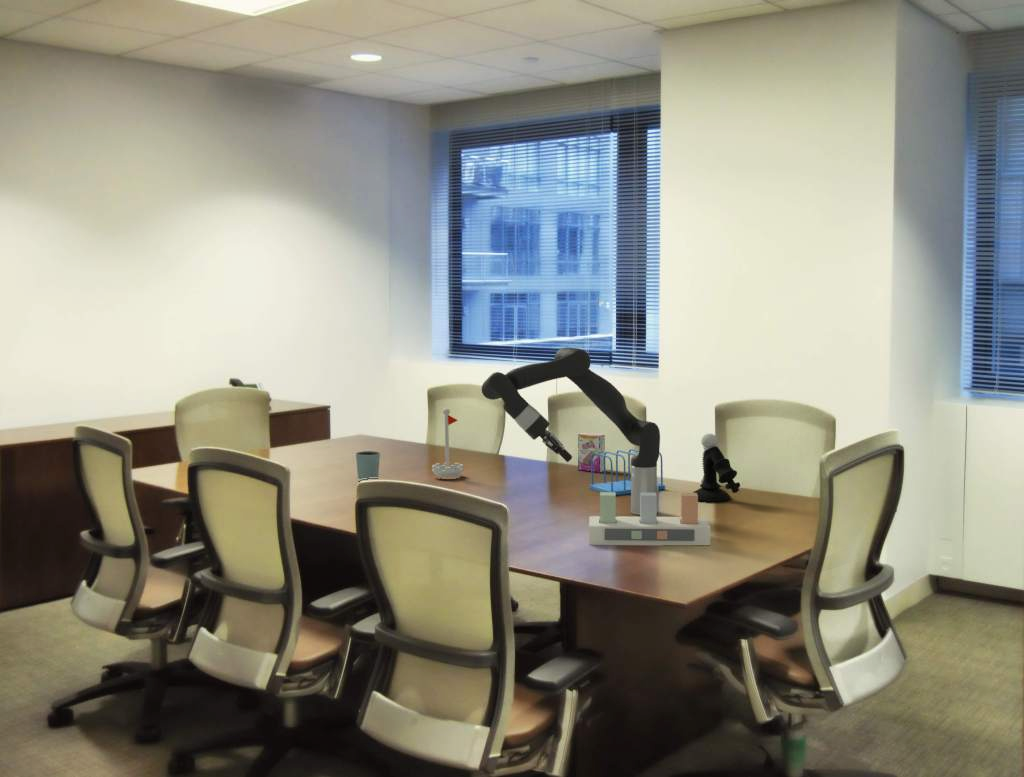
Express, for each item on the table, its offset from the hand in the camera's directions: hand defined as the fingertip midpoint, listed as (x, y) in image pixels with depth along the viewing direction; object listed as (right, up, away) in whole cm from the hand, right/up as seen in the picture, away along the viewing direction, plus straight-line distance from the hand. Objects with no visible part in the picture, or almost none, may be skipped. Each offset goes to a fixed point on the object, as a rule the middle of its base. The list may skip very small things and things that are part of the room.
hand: (570, 459), depth 334 cm
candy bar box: (+16, -14, +122) cm, 124 cm away
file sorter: (+27, -18, +82) cm, 88 cm away
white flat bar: (+25, -26, 0) cm, 36 cm away
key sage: (+12, -21, +1) cm, 24 cm away
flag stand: (-46, -16, +112) cm, 122 cm away
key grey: (+25, -21, 0) cm, 33 cm away
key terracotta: (+38, -21, -1) cm, 44 cm away
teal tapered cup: (-80, -17, +106) cm, 134 cm away
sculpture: (+59, -20, +58) cm, 85 cm away
